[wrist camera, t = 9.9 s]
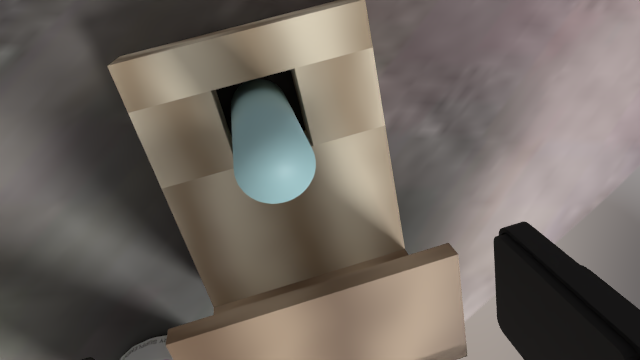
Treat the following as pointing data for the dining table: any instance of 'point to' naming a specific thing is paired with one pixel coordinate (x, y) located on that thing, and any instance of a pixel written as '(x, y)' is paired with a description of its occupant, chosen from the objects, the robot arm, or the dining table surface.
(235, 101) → the peg
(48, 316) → the dining table surface
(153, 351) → the supplement can
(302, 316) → the socket block
